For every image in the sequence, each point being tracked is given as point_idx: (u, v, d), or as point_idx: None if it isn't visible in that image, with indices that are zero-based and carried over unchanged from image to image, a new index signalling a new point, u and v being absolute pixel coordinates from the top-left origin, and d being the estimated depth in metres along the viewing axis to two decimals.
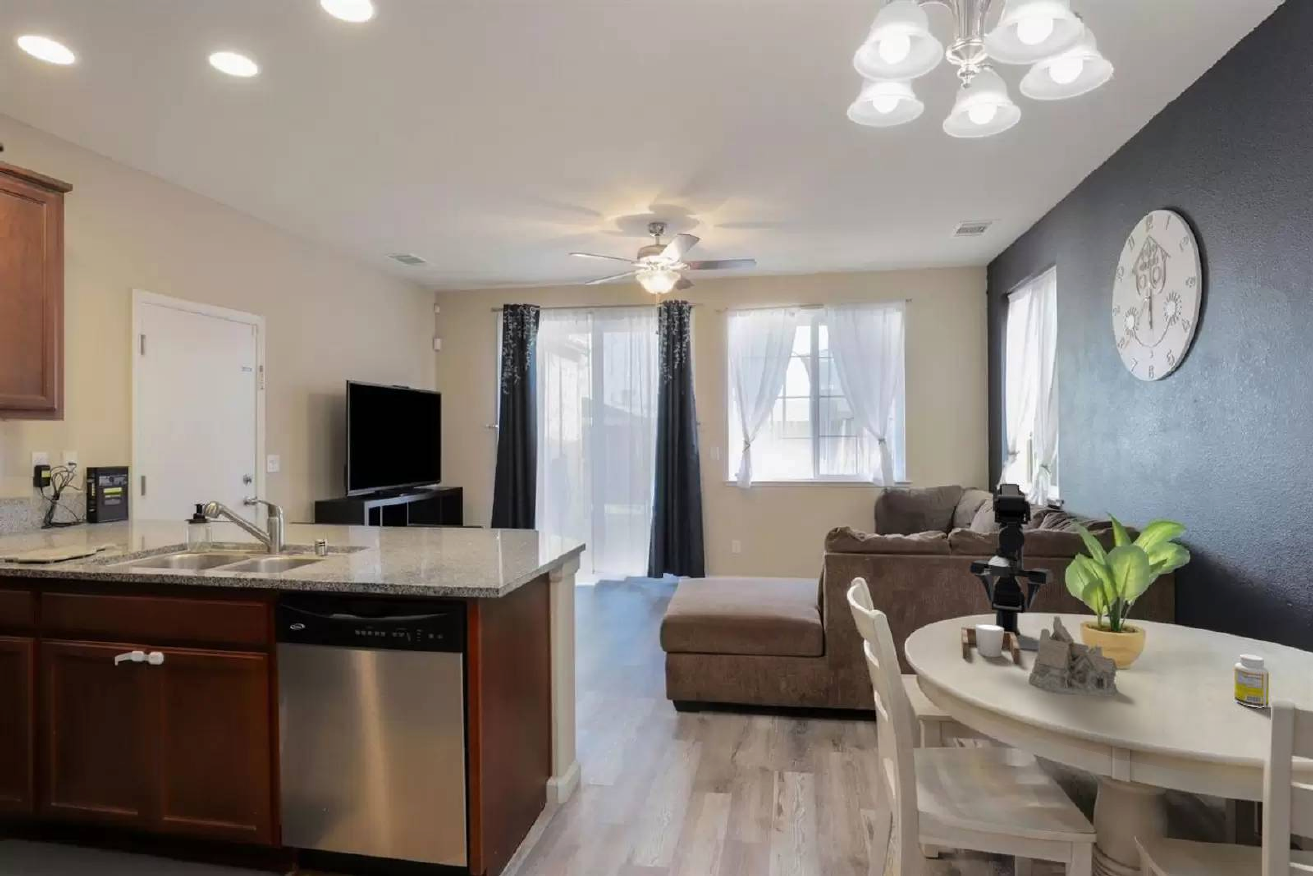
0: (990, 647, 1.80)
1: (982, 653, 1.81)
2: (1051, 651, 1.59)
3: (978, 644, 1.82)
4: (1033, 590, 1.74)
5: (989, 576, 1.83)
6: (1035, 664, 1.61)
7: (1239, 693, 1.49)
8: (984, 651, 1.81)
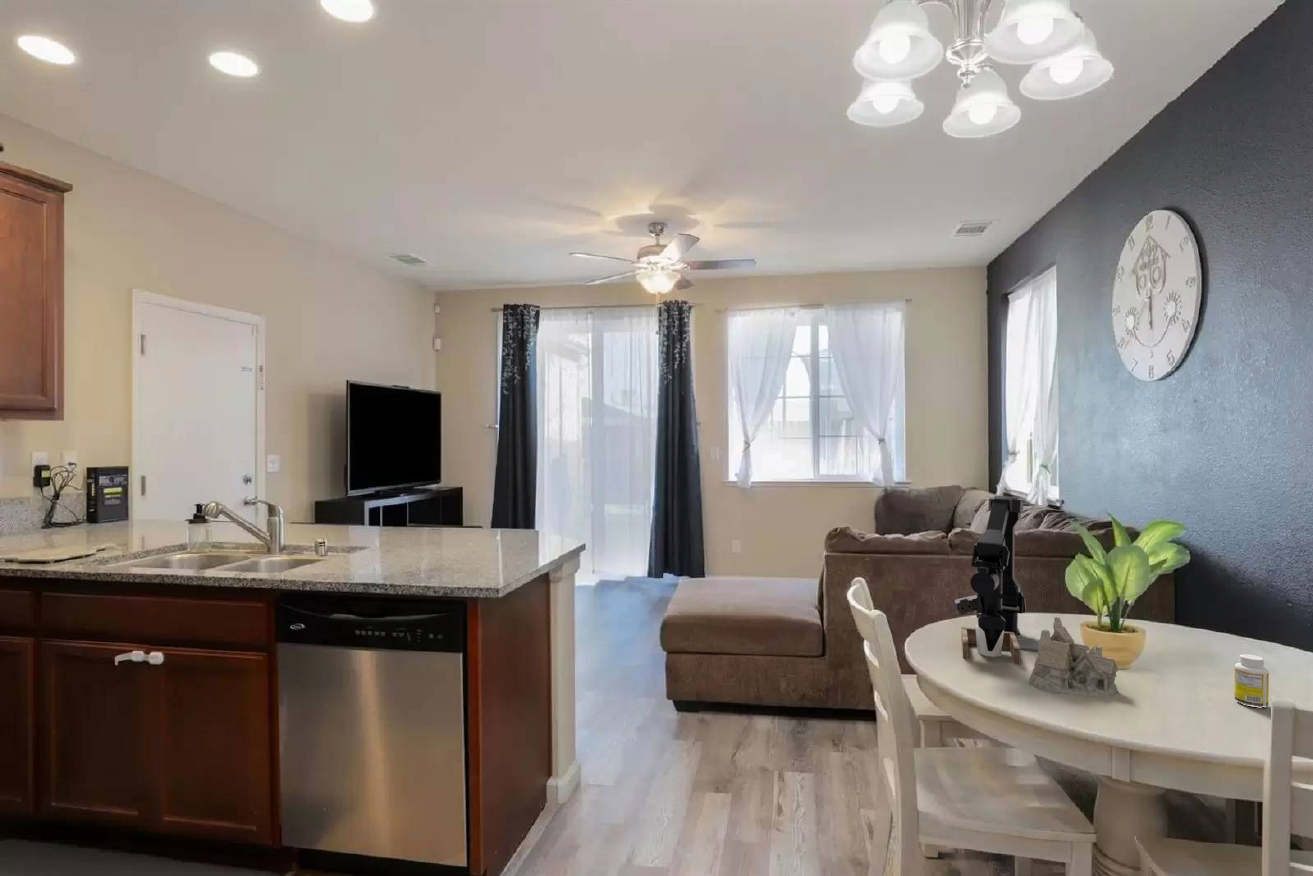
0: None
1: (982, 653, 1.81)
2: (1051, 651, 1.58)
3: (978, 644, 1.82)
4: (984, 632, 1.79)
5: None
6: (1035, 665, 1.60)
7: (1239, 693, 1.49)
8: (984, 651, 1.81)
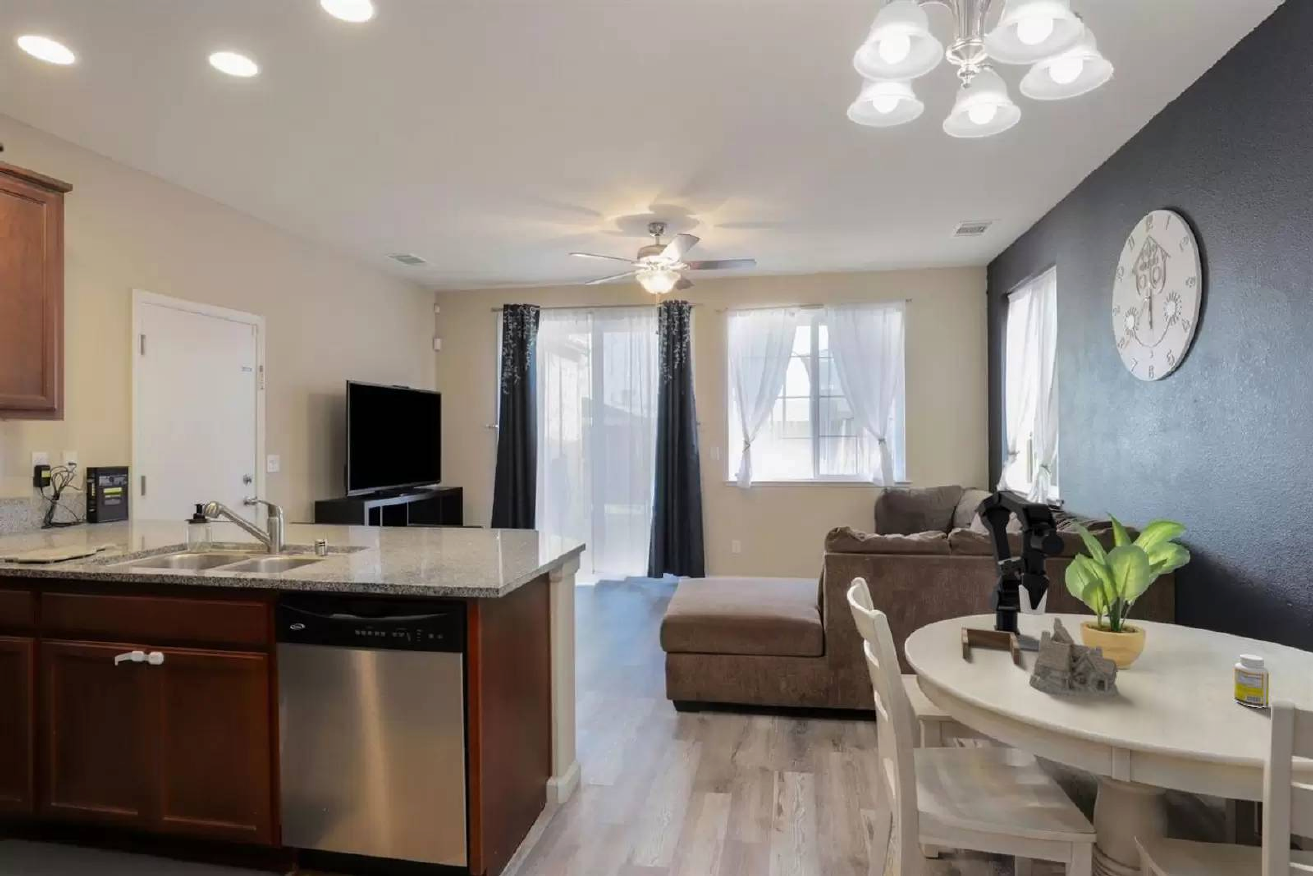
0: None
1: (1026, 612, 1.87)
2: (1052, 652, 1.58)
3: (1022, 603, 1.89)
4: (1028, 591, 1.85)
5: None
6: (1036, 666, 1.60)
7: (1239, 693, 1.49)
8: (1028, 609, 1.87)
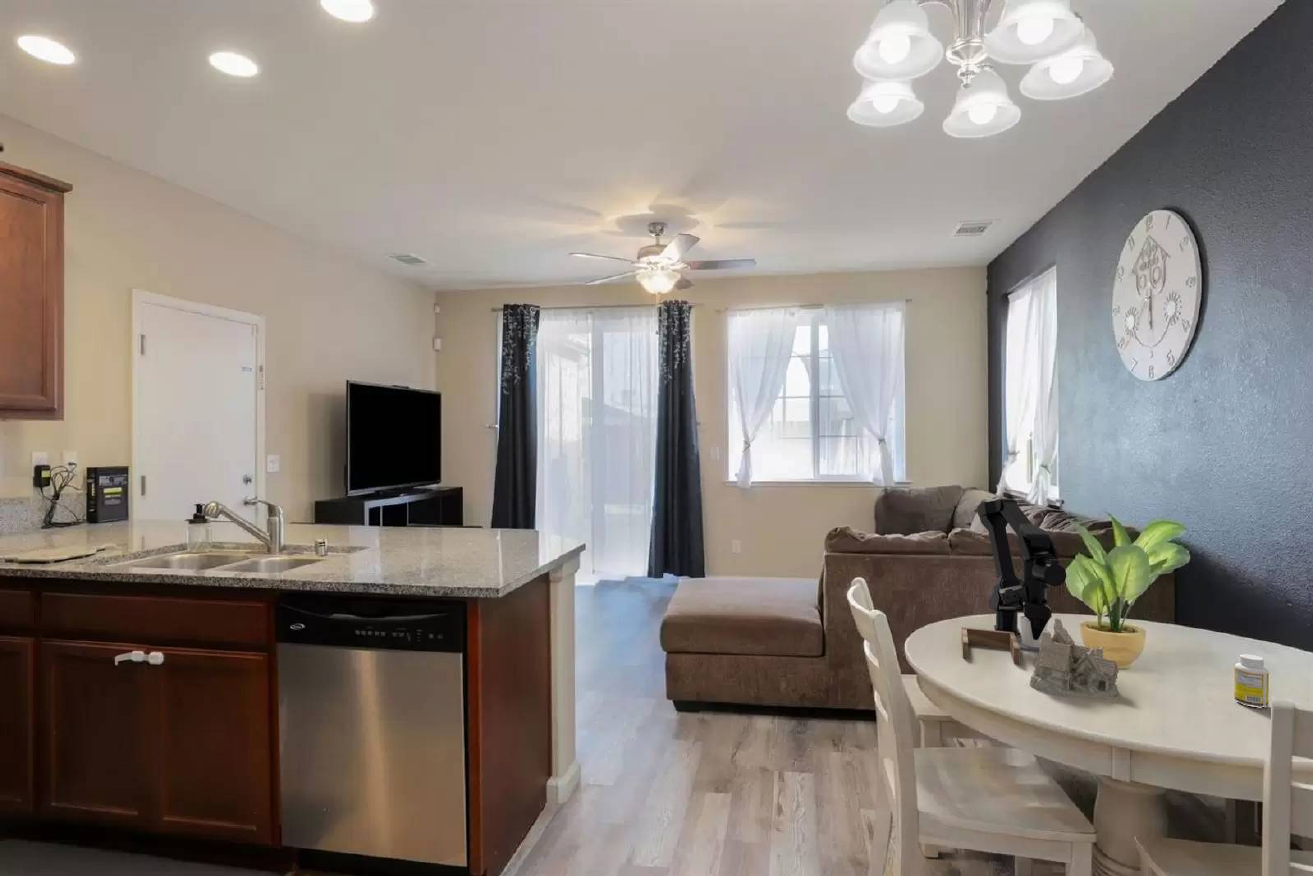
0: None
1: (1027, 644, 1.88)
2: (1052, 653, 1.57)
3: (1023, 635, 1.89)
4: (1030, 621, 1.84)
5: None
6: (1036, 667, 1.59)
7: (1239, 693, 1.49)
8: (1029, 642, 1.87)
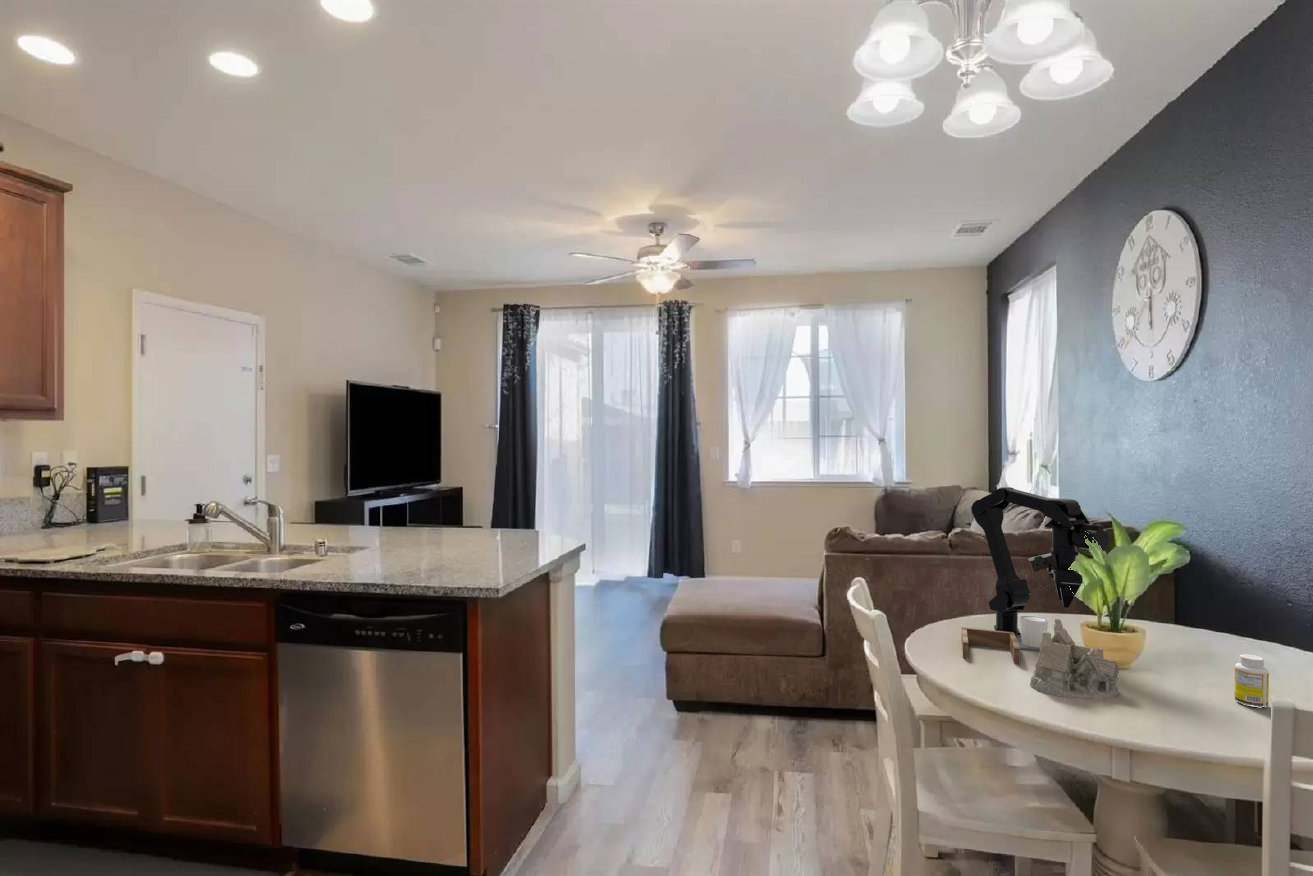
0: (1035, 638, 1.86)
1: (1027, 644, 1.88)
2: (1053, 654, 1.57)
3: (1023, 635, 1.89)
4: (1060, 589, 1.83)
5: None
6: (1036, 667, 1.59)
7: (1239, 693, 1.49)
8: (1029, 642, 1.87)
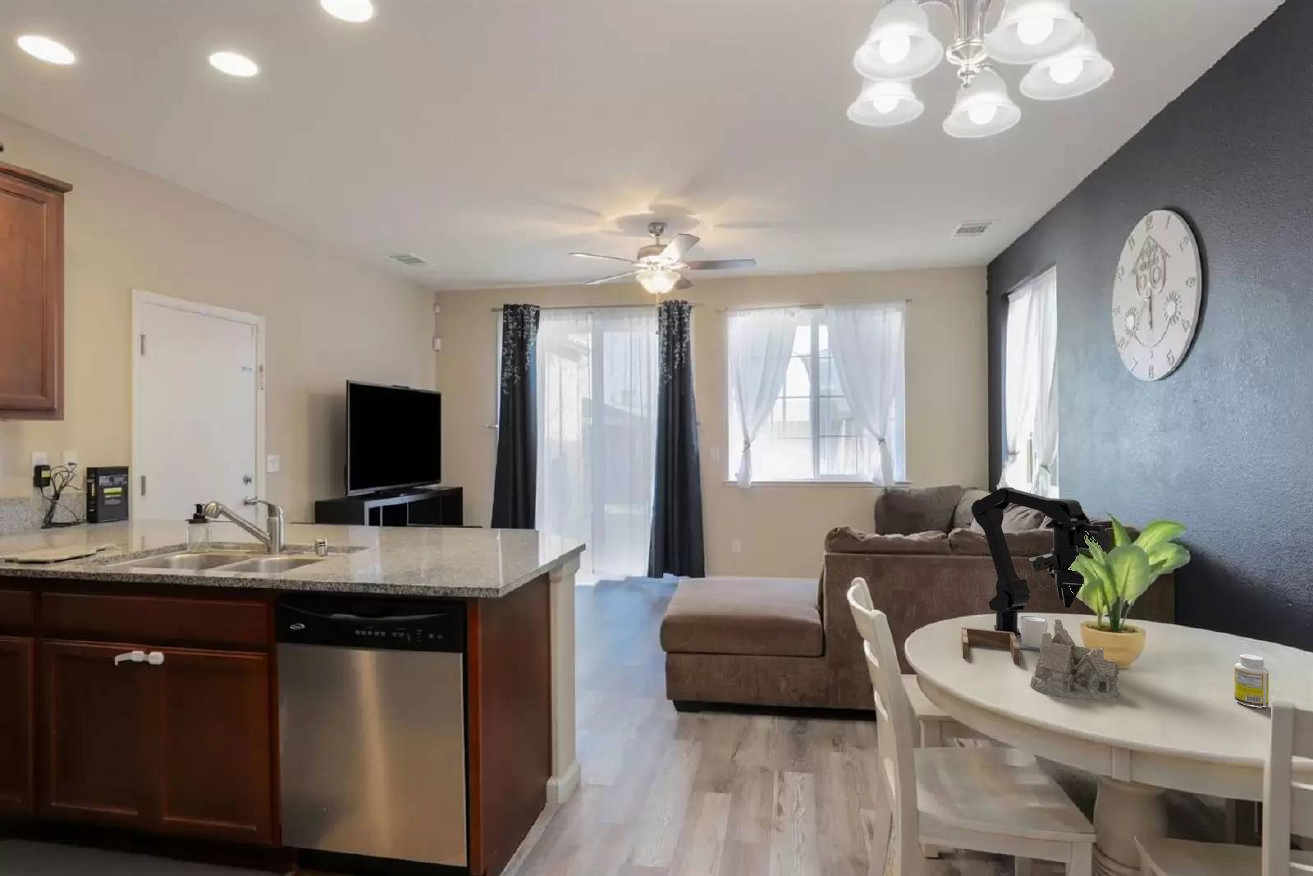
0: (1035, 638, 1.86)
1: (1027, 644, 1.88)
2: (1053, 654, 1.56)
3: (1023, 635, 1.89)
4: (1062, 589, 1.83)
5: None
6: (1037, 668, 1.59)
7: (1239, 693, 1.49)
8: (1029, 642, 1.87)
